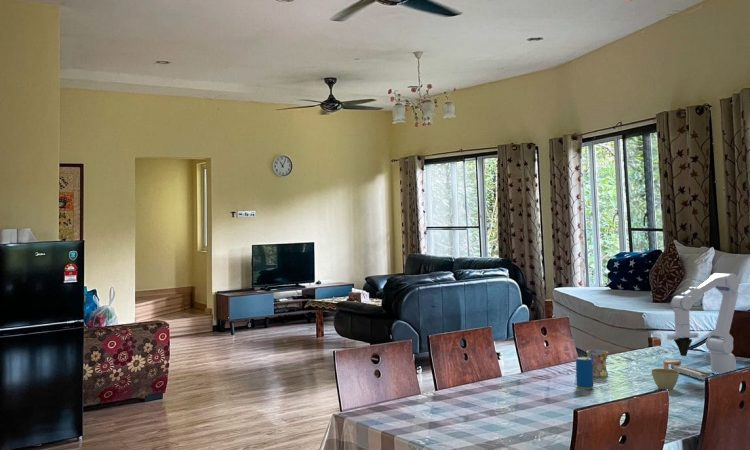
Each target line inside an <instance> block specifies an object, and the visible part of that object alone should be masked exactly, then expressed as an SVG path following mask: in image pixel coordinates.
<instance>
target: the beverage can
mask: <svg viewBox="0 0 750 450" xmlns="http://www.w3.org/2000/svg"><path fill="white" fill-rule="evenodd" d="M575 373H576V374H575V375H576V387H578V389H582V390H591V389H592V388H593V387H594V376H593V362H592V360H591V358H589V357H587V356H578V357H576V360H575Z"/></svg>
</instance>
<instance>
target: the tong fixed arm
mask: <svg viewBox="0 0 750 450" xmlns="http://www.w3.org/2000/svg"><path fill="white" fill-rule="evenodd" d="M677 367H683V368H687V369H690V370H693V371H697V372H700V373H703V374H706V377H708V376H710V377H711V373H710V372H706V371H707V370H706V371H705V370H701V369H697V368H694V367H690V366H686V365H682V364H681V365H679V364H670V369H671V368H672V369H674V370H676V371H677Z"/></svg>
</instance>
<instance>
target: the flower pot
mask: <svg viewBox="0 0 750 450" xmlns="http://www.w3.org/2000/svg"><path fill="white" fill-rule="evenodd" d="M651 374H652V375H651V376H652V378H653V381H654V383H655V385H656V386H657V388H658V389H659V390H661V389H668V390H667V391H673V389H674V388H675V386H676V385H677V382H678V381H679V375H680V372H678V371H676V370H672V369H671V368H669V369H664V368H653V369H651Z"/></svg>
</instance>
